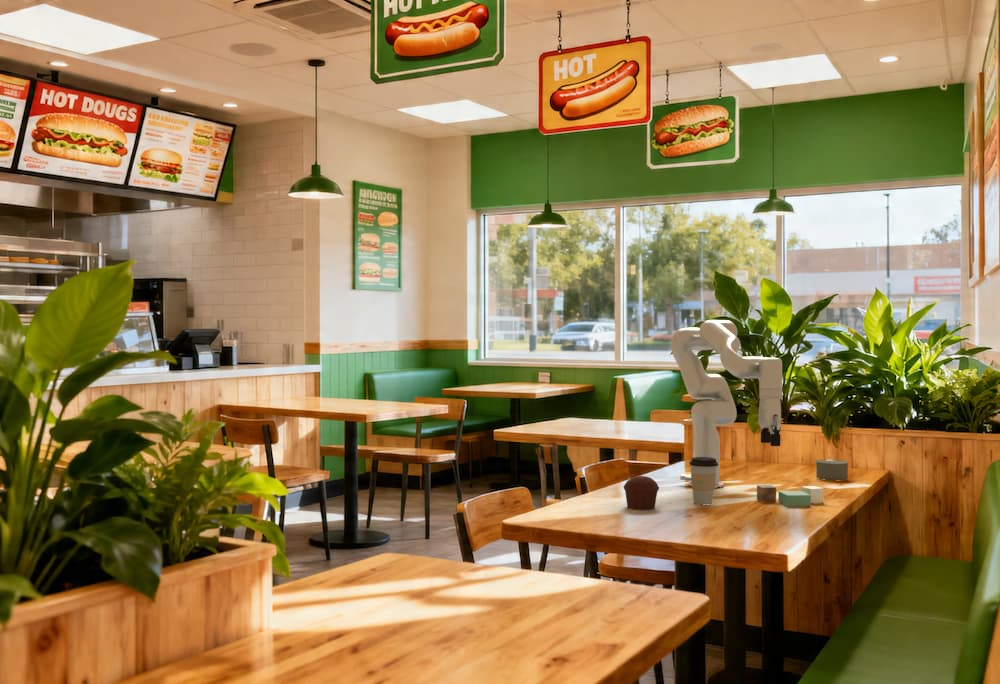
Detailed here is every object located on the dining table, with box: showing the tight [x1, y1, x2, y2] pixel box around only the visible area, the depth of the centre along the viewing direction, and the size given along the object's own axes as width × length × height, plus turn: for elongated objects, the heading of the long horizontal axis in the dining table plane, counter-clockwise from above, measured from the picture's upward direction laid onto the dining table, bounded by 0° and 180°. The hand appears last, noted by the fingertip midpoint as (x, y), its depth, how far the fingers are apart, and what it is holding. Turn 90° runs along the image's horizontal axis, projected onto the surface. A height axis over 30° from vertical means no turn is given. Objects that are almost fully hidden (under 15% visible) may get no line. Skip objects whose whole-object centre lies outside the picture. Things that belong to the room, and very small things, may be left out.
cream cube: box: [801, 485, 824, 504], centre depth 316 cm, size 5×5×5 cm
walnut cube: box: [756, 484, 777, 503], centre depth 318 cm, size 5×5×5 cm
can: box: [815, 458, 849, 481], centre depth 367 cm, size 12×12×7 cm
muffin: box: [623, 475, 660, 511], centre depth 304 cm, size 12×11×10 cm
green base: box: [777, 490, 812, 508], centre depth 312 cm, size 8×8×4 cm
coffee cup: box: [689, 456, 718, 505], centre depth 311 cm, size 9×9×15 cm
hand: (770, 444), depth 319 cm, fingers open, 9 cm apart
